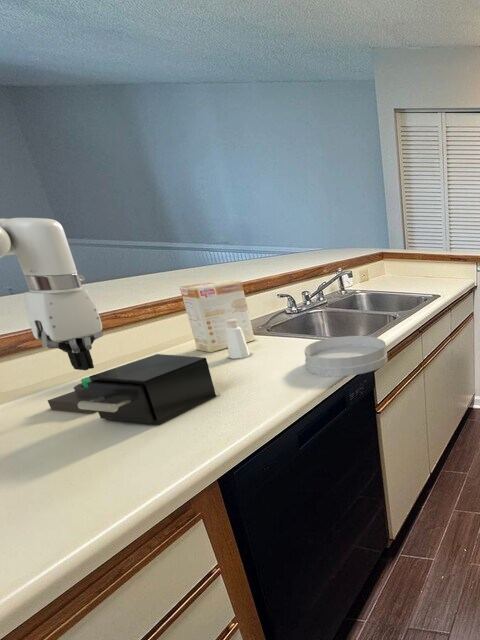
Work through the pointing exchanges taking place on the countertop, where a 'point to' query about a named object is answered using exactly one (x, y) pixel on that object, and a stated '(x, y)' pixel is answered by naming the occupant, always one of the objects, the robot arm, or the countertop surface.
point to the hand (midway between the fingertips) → (84, 368)
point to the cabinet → (166, 383)
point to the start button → (85, 382)
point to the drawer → (119, 401)
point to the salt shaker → (236, 340)
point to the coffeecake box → (216, 312)
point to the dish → (345, 355)
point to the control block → (72, 400)
